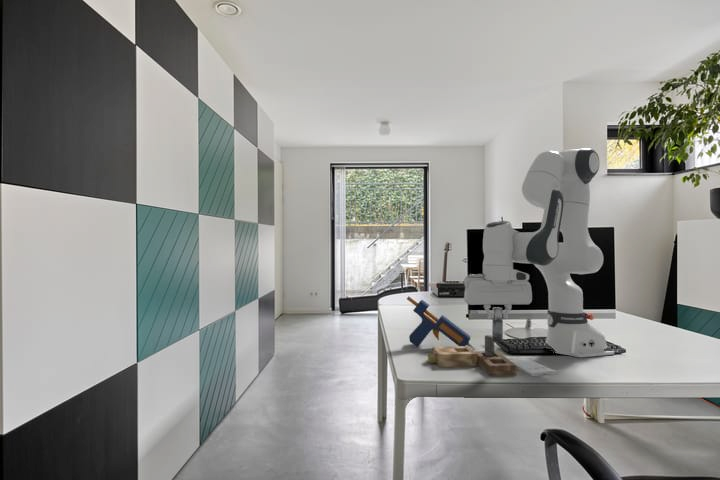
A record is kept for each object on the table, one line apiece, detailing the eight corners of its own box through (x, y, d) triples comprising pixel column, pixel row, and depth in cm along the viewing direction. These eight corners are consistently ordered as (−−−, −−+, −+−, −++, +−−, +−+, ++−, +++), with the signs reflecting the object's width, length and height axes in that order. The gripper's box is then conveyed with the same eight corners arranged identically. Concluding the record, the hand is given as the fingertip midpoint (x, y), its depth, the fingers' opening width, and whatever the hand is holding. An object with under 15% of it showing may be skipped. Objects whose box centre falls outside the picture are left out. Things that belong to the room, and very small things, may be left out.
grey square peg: (500, 339, 126) (500, 307, 126) (504, 341, 123) (504, 308, 123) (490, 339, 126) (491, 307, 126) (494, 341, 123) (494, 308, 123)
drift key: (451, 360, 136) (451, 351, 136) (454, 363, 132) (454, 354, 132) (427, 360, 135) (427, 352, 135) (429, 363, 132) (429, 355, 132)
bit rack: (497, 359, 136) (496, 333, 136) (516, 375, 121) (516, 345, 121) (473, 360, 136) (473, 333, 136) (490, 375, 121) (489, 345, 121)
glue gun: (454, 377, 149) (479, 345, 147) (387, 325, 153) (410, 294, 151) (454, 370, 155) (478, 340, 152) (389, 321, 159) (411, 291, 157)
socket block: (467, 357, 139) (467, 346, 139) (476, 366, 130) (476, 353, 130) (433, 358, 138) (433, 346, 138) (439, 367, 129) (439, 354, 129)
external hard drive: (528, 363, 135) (555, 375, 123) (506, 365, 132) (532, 378, 120) (528, 358, 135) (555, 370, 123) (506, 360, 132) (532, 372, 120)
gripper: (467, 275, 121) (467, 321, 121) (534, 274, 122) (534, 320, 122) (461, 273, 127) (461, 317, 128) (525, 272, 128) (524, 316, 128)
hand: (497, 318), depth 125 cm, fingers closed on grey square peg, 3 cm apart
